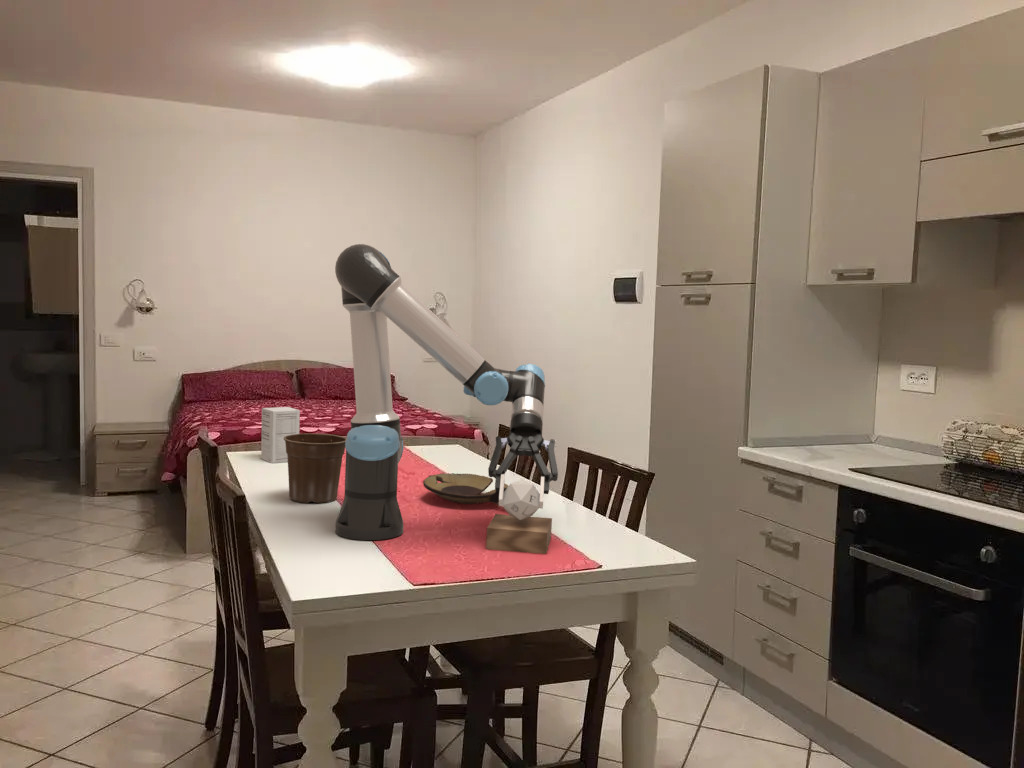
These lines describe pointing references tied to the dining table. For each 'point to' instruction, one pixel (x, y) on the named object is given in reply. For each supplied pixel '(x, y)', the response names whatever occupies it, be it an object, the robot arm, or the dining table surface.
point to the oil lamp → (462, 488)
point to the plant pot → (314, 466)
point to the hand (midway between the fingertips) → (520, 503)
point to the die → (521, 499)
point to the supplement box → (277, 432)
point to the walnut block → (519, 534)
